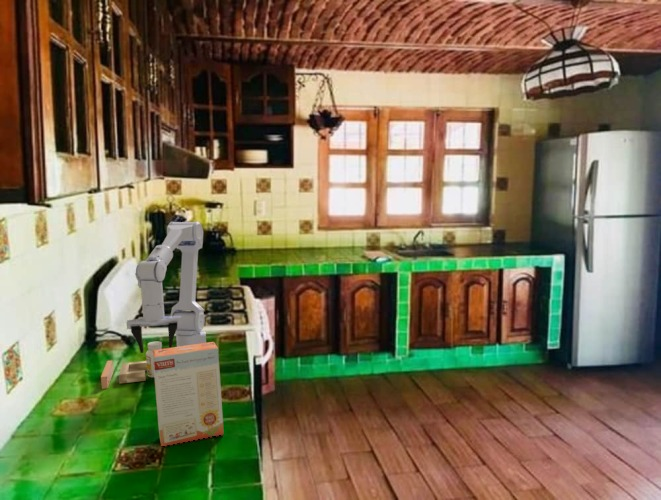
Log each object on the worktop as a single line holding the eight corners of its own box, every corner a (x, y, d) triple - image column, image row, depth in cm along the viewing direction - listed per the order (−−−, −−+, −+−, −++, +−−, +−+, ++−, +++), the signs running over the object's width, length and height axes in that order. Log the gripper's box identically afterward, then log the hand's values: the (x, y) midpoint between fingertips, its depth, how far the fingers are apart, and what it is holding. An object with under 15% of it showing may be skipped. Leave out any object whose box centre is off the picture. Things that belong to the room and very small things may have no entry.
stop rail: (113, 371, 174) (112, 360, 174) (107, 388, 161) (106, 376, 160) (108, 371, 174) (107, 360, 173) (101, 388, 160) (100, 377, 160)
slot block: (147, 369, 175) (146, 360, 174) (145, 380, 165) (144, 372, 165) (123, 371, 173) (122, 363, 173) (119, 383, 163) (118, 374, 163)
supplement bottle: (169, 371, 173) (166, 340, 172) (162, 378, 168) (159, 346, 166) (151, 371, 173) (149, 340, 172) (144, 377, 168) (142, 345, 167)
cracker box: (219, 425, 136) (214, 340, 133) (224, 436, 130) (219, 347, 127) (158, 436, 131) (151, 348, 128) (160, 448, 125) (153, 356, 122)
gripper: (124, 309, 154) (128, 357, 156) (179, 304, 157) (182, 352, 159) (126, 303, 161) (130, 349, 163) (179, 298, 164) (182, 344, 166)
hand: (156, 350), depth 161 cm, fingers open, 7 cm apart
